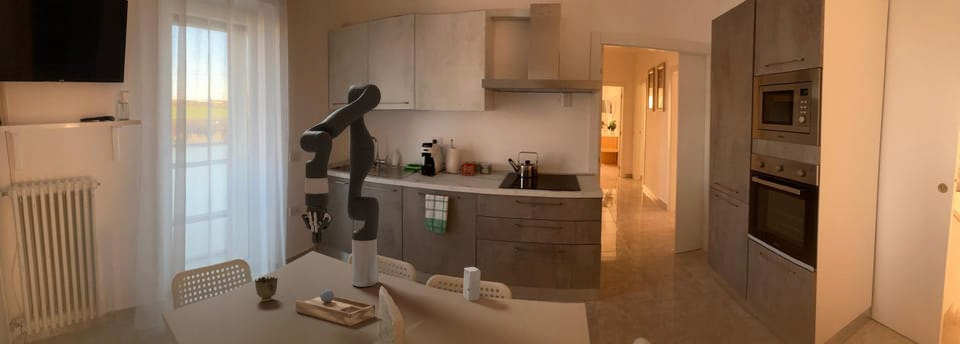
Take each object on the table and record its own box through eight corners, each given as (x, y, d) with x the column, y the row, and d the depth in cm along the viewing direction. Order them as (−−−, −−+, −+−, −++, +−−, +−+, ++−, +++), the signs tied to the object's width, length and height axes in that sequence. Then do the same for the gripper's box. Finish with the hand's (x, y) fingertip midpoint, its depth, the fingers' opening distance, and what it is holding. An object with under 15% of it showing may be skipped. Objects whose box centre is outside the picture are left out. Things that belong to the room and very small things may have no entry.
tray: (321, 303, 189) (321, 292, 189) (375, 316, 176) (375, 305, 176) (295, 311, 180) (295, 300, 180) (350, 326, 167) (350, 314, 166)
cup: (269, 305, 186) (269, 282, 186) (250, 303, 187) (250, 280, 187) (282, 299, 193) (281, 277, 193) (263, 297, 195) (263, 275, 194)
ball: (329, 284, 182) (324, 293, 178) (338, 293, 183) (333, 302, 179) (321, 290, 184) (315, 298, 180) (329, 299, 185) (324, 307, 181)
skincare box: (462, 300, 194) (462, 267, 194) (473, 299, 196) (474, 266, 195) (468, 305, 189) (469, 271, 188) (480, 304, 190) (480, 270, 190)
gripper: (339, 191, 180) (339, 243, 181) (311, 189, 187) (312, 239, 188) (322, 193, 174) (322, 247, 175) (294, 191, 181) (294, 242, 182)
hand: (317, 242), depth 182 cm, fingers closed
